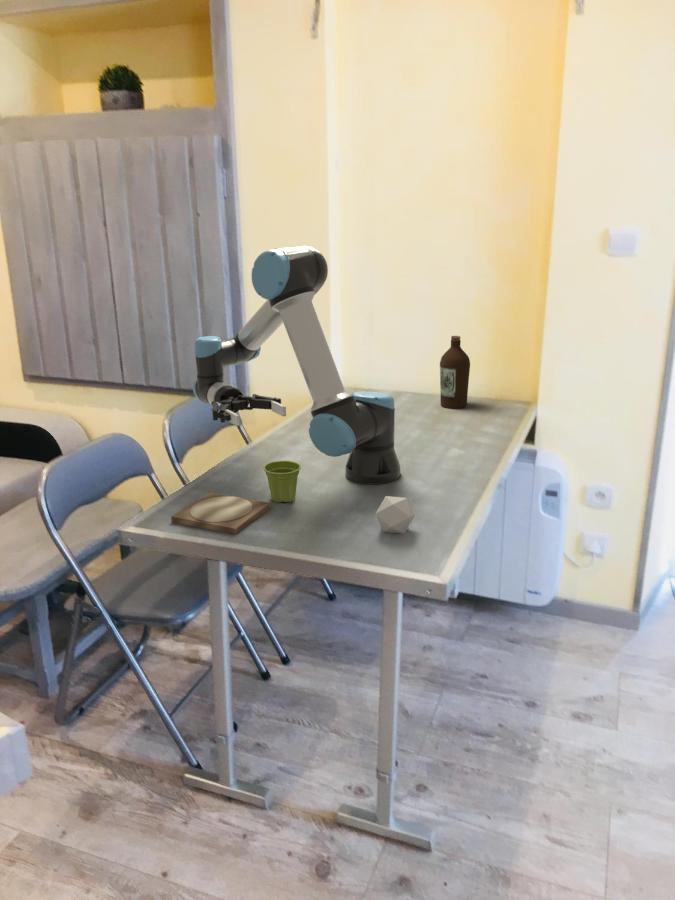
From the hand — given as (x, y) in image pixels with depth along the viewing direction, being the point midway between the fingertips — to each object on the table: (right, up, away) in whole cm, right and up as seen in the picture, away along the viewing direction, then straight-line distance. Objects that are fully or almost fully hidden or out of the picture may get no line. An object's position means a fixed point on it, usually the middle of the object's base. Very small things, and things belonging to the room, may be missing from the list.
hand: (261, 416), depth 193 cm
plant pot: (+6, -21, -1) cm, 22 cm away
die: (+33, -27, -20) cm, 47 cm away
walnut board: (-9, -25, -10) cm, 28 cm away
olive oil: (+61, +7, +77) cm, 99 cm away
